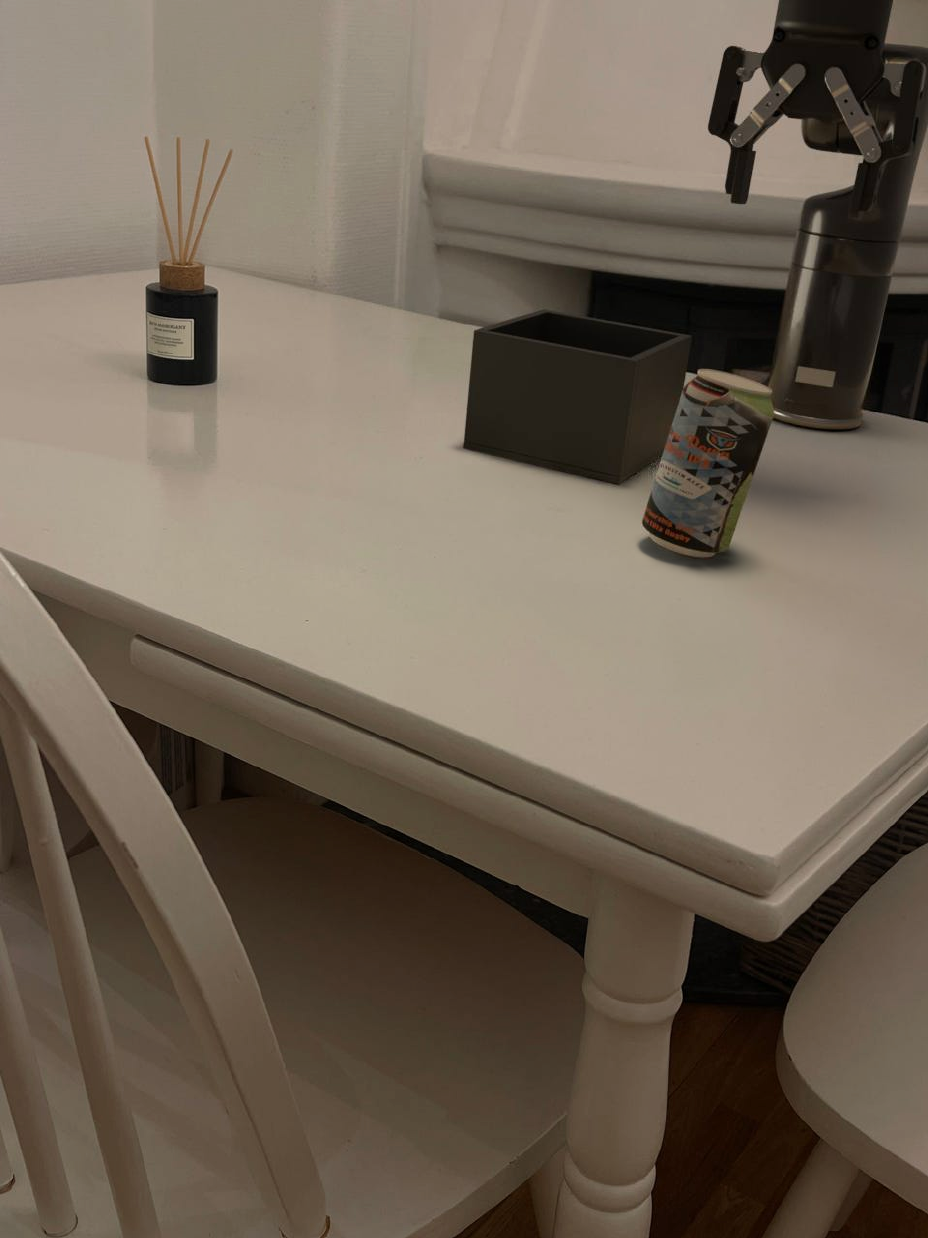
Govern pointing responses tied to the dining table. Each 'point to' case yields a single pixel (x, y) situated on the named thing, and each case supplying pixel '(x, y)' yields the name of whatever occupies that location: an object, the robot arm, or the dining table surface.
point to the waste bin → (574, 393)
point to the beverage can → (708, 463)
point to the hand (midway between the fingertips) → (795, 210)
